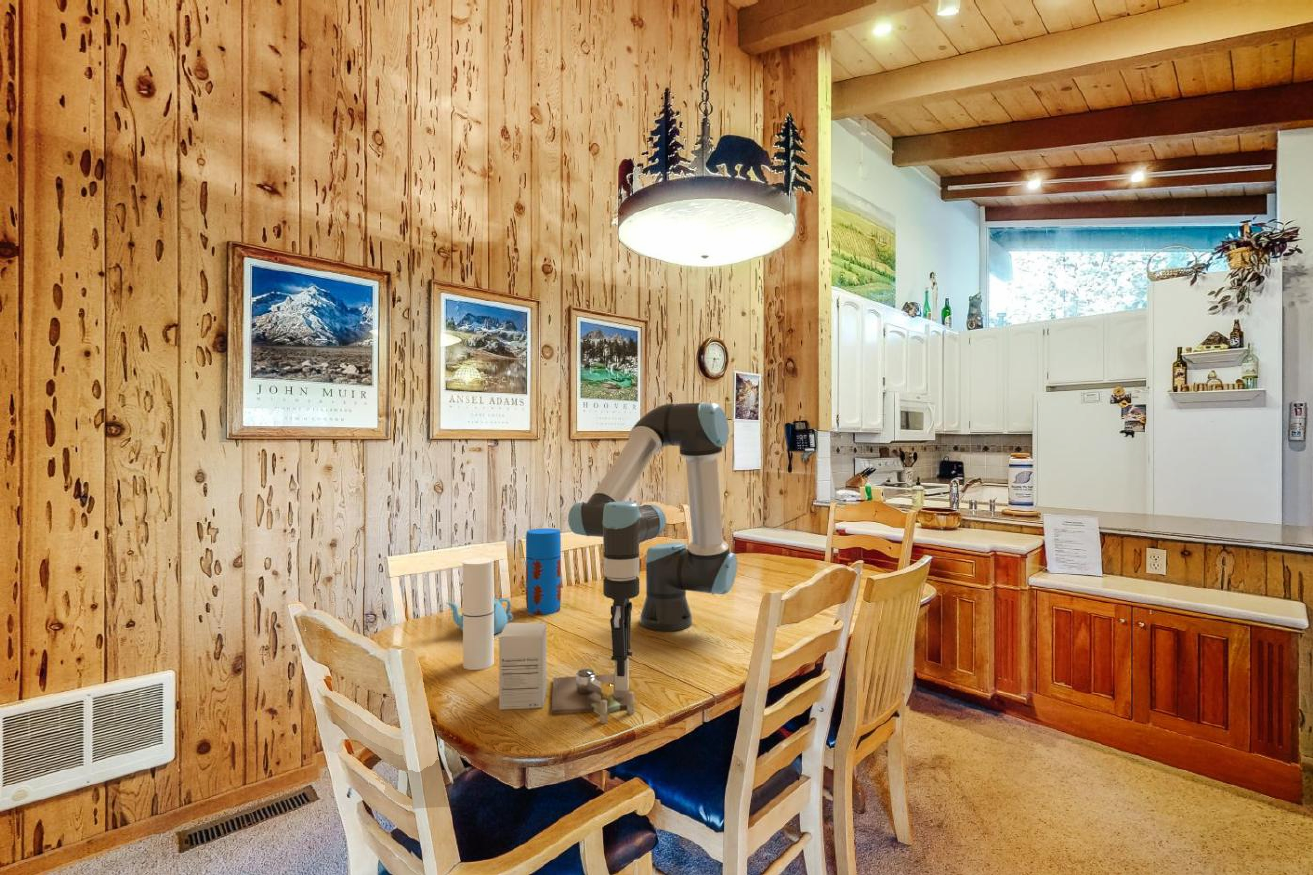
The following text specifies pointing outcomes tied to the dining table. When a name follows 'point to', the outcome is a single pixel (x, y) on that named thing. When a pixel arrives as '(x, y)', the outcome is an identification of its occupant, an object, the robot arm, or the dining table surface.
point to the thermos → (543, 571)
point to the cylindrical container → (478, 613)
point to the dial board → (588, 698)
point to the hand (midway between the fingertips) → (621, 689)
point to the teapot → (499, 615)
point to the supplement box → (522, 666)
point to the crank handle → (594, 685)
